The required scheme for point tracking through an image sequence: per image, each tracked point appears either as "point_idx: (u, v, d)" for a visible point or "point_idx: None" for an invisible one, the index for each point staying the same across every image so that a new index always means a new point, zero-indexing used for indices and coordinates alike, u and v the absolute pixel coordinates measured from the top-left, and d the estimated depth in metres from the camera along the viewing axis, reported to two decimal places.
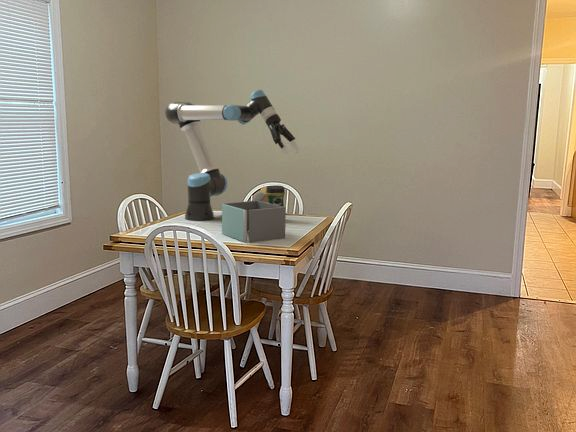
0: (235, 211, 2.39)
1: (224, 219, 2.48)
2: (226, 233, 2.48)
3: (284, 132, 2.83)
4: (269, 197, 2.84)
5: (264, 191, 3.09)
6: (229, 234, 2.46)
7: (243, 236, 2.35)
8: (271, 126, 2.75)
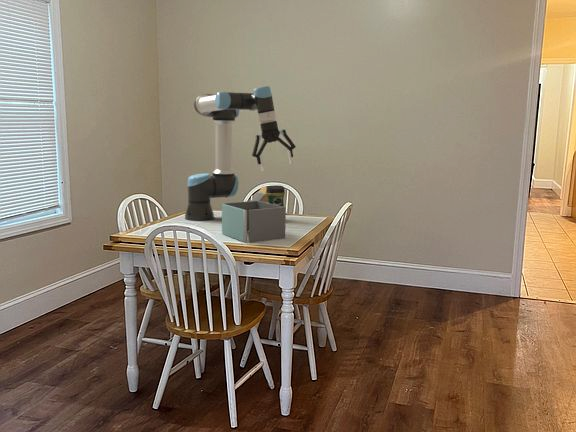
0: (235, 211, 2.39)
1: (224, 219, 2.48)
2: (226, 233, 2.48)
3: (279, 141, 2.50)
4: (269, 197, 2.84)
5: (263, 191, 3.09)
6: (229, 234, 2.46)
7: (243, 236, 2.35)
8: (256, 137, 2.47)
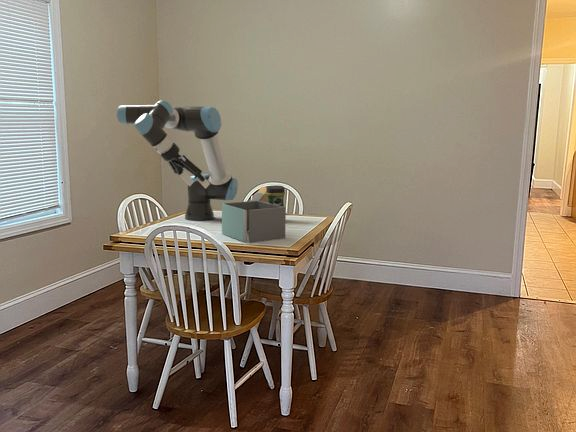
0: (235, 211, 2.39)
1: (224, 219, 2.48)
2: (226, 233, 2.48)
3: None
4: (269, 197, 2.84)
5: (263, 191, 3.09)
6: (229, 234, 2.46)
7: (243, 236, 2.35)
8: None
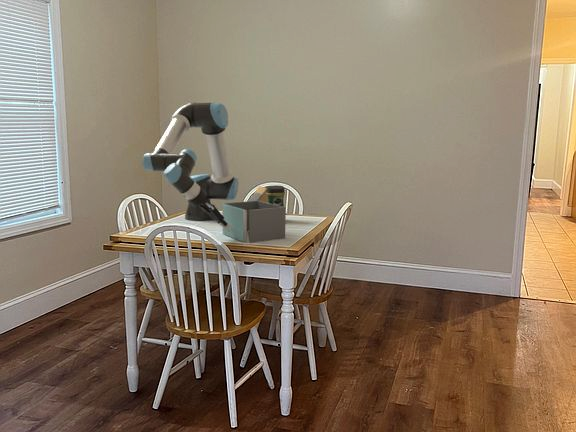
0: (235, 211, 2.39)
1: (225, 219, 2.49)
2: (227, 233, 2.48)
3: None
4: (269, 197, 2.84)
5: (260, 191, 3.09)
6: (229, 234, 2.46)
7: (243, 236, 2.35)
8: None
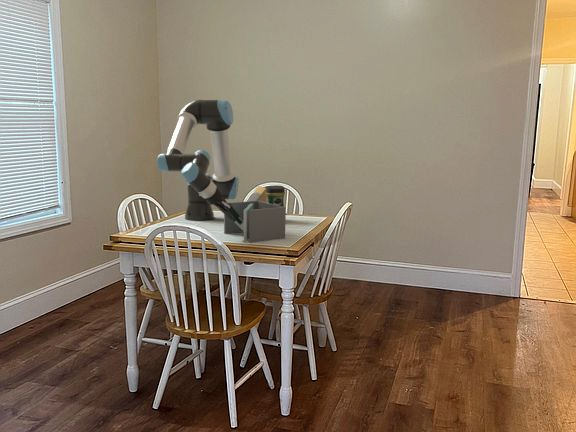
0: None
1: None
2: None
3: None
4: (269, 197, 2.84)
5: (259, 191, 3.09)
6: None
7: None
8: None
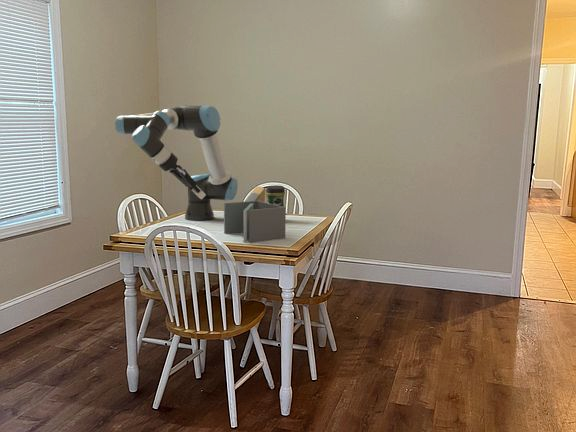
0: None
1: None
2: None
3: None
4: (269, 197, 2.84)
5: (258, 191, 3.09)
6: None
7: None
8: None
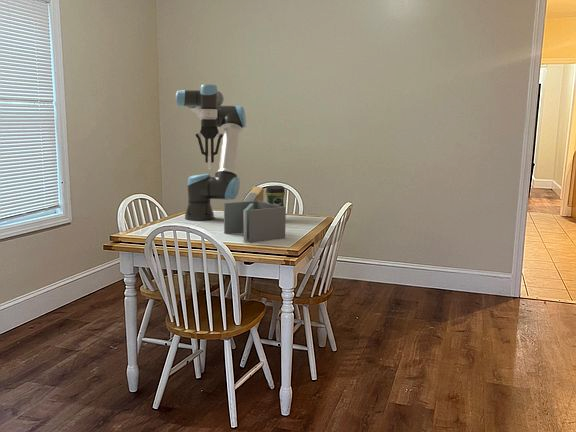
0: None
1: None
2: None
3: None
4: (269, 197, 2.84)
5: (256, 191, 3.09)
6: None
7: None
8: (196, 136, 2.56)
